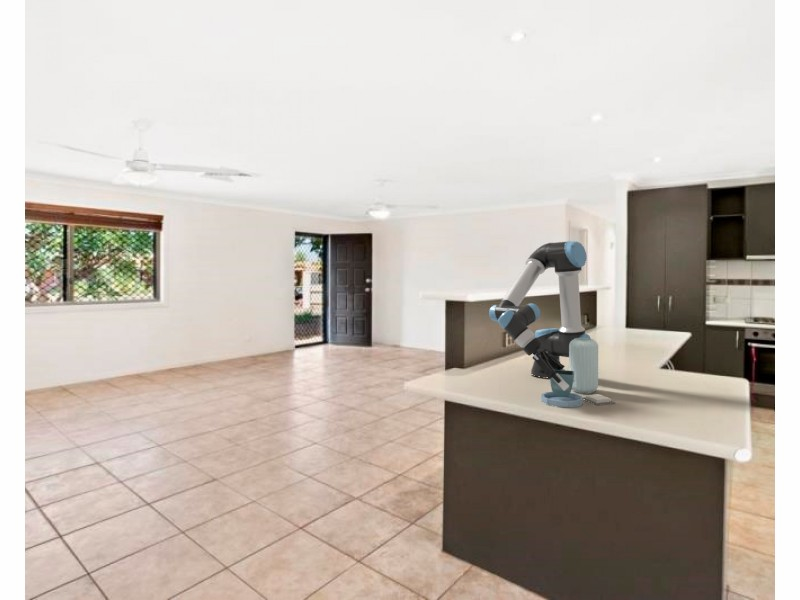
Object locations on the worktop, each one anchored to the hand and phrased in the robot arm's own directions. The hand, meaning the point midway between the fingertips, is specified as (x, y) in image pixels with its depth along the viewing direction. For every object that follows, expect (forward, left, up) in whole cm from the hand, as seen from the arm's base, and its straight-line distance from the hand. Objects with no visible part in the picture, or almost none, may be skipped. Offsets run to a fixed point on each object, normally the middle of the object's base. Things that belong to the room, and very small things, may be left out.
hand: (569, 385), depth 184 cm
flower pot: (-2, -2, -4) cm, 5 cm away
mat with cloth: (+1, +12, -7) cm, 14 cm away
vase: (-14, +16, -7) cm, 22 cm away
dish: (-2, -2, -7) cm, 7 cm away
